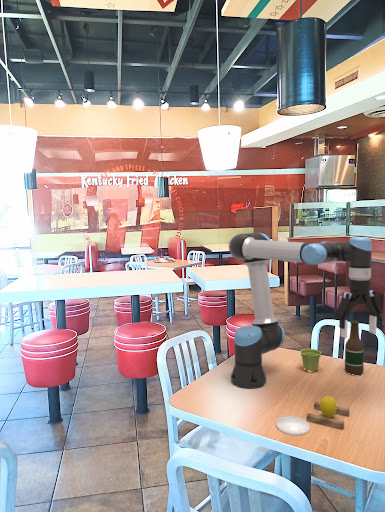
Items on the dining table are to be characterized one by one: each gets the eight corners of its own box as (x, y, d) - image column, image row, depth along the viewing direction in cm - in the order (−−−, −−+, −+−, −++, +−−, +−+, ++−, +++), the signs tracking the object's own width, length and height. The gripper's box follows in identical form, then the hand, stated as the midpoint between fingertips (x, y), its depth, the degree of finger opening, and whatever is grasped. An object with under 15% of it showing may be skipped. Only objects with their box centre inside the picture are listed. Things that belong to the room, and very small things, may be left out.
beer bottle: (355, 377, 172) (355, 323, 170) (341, 371, 179) (341, 320, 177) (367, 373, 176) (368, 321, 174) (352, 368, 183) (353, 318, 181)
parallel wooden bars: (306, 421, 135) (306, 415, 135) (315, 406, 145) (315, 401, 145) (343, 429, 129) (343, 424, 129) (349, 414, 139) (349, 409, 139)
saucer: (271, 430, 130) (271, 427, 130) (282, 415, 139) (282, 413, 139) (304, 438, 124) (304, 435, 124) (313, 423, 133) (313, 420, 133)
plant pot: (300, 373, 178) (300, 354, 178) (299, 365, 187) (299, 348, 187) (322, 374, 176) (322, 355, 175) (320, 367, 185) (320, 349, 185)
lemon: (317, 414, 140) (317, 392, 139) (332, 413, 140) (332, 391, 139) (323, 422, 134) (324, 399, 134) (339, 421, 135) (339, 398, 134)
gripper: (339, 282, 137) (338, 341, 139) (393, 278, 145) (392, 333, 147) (325, 279, 144) (324, 335, 146) (377, 275, 152) (376, 328, 154)
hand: (358, 335), depth 146 cm, fingers open, 13 cm apart
